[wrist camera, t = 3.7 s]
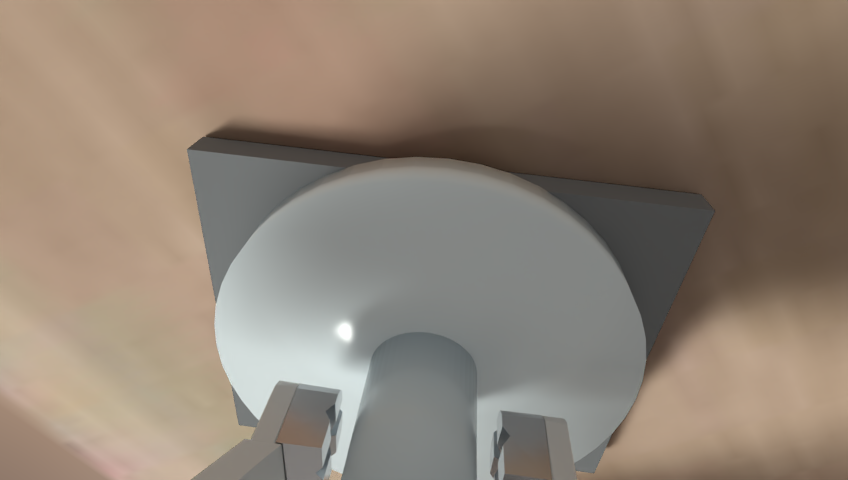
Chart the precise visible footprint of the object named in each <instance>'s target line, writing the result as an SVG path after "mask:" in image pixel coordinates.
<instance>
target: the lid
mask: <svg viewBox="0 0 848 480" xmlns="http://www.w3.org/2000/svg"><path fill="white" fill-rule="evenodd" d="M214 326H215V335H216V344H217V348H218V352H219V355H220V359H221V362H222V365H223V368H224V370H225V372H226V374H227V376H228V379H229V381H230V383H231V385H232V386H233V388H234V389H235V391H236V392H237V394H238V396H239V397H240V399H241V400H242V401H243V403H244V404H245V405H246V406H247V408H248V409H249V410H250V411H251V412H252V414H253V415H254V416H255V417H256V418H257V419H258V420H260V418H261V415H262V413H263V411H264V409H265V406H266V404H267V402H268V400H269V397H270V395H271V393H272V391H273V389H274V386H275V385H276V384H277V383H278V381H279V380H280V381H287V382H294V383H301V384H307V385H314V386H320V387H326V388H332V389H338V390H342V403H341V406H340V410H341V411H342V412H343V416H342V429H341V434H340V440H339V444H338V448H337V451H336V453H335V454H334V455H332V456H331V468H332V470H335V471H337V472H339V473H342V478H341V480H493V477H492V476H491V474H490V450H491V442H492V437H493V433H494V432H495V431H496V430H497V417H498V413H499V412H500V410H502V411H511V412H519V413H527V414H536V415H541V416H548V417H555V418H563V419H565V421H566V422H567V426H568V432H569V437H570V443H571V448H572V454H573V460H574V463H575V462H577V461H579V460H580V459H582V458H583V457H585V456H586V455H587V454H589V453H590V452H592V451H593V450H594V449H596V448H597V447H598V446H599V445H600V444H601V443H603V442H604V441H605V440H606V439H607V438H608V437H609V436H610V435H611V434H612V433H613V432H614V431H615V430H616V428H617V427H618V426H619V425H620V423H621V422H622V421H623V420H624V419H625V417H626V415H627V414H628V412H629V410H630V409H631V407H632V405H633V403H634V402H635V400H636V397H637V395H638V392H639V389H640V387H641V384H642V381H643V376H644V370H645V364H646V337H645V332H644V327H643V323H642V318H641V314H640V312H639V310H638V307H637V305H636V302H635V300H634V298H633V295H632V293H631V290H630V288H629V285H628V283H627V281H626V278H625V276H624V274H623V271H622V269H621V266H620V264H619V262H618V260H617V259H616V257H615V256H614V254H613V253H612V251H611V249H610V248H609V246H608V245H607V243H606V242H605V240H604V239H603V238H602V237H601V236H600V235H599V234H598V233H597V231H596V230H595V229H594V228H593V227H592V226H591V225H590V224H589V222H588V221H587V220H585V219H584V218H583V217H582V216H581V215H579V214H578V213H577V212H576V211H575V210H573V209H572V208H571V207H570V206H569V205H567V204H566V203H565V202H563V201H561V200H560V199H558V198H557V197H555V196H553V195H552V194H550V193H549V192H547V191H546V190H545V189H543V188H541V187H540V186H538V185H535V184H533V183H531V182H529V181H527V180H524V179H522V178H520V177H518V176H515V175H513V174H511V173H508V172H504V171H501V170H498V169H495V168H491V167H488V166H485V165H482V164H477V163H471V162H465V161H460V160H454V159H448V158H429V157H406V158H392V159H382V160H377V161H372V162H367V163H362V164H357V165H353V166H350V167H347V168H346V169H343V170H340V171H337V172H334V173H331V174H328V175H325V176H323V177H321V178H320V179H318V180H316V181H314V182H312V183H310V184H308V185H306V186H304V187H302V188H300V189H299V190H298V191H296V192H295V193H293V194H292V195H290V196H289V197H288V198H286V199H285V200H283V201H282V202H281V203H280V204H279V205H278V206H277V207H276V208H275V209H274V210H272V211H271V212H270V213H269V214H268V215H267V216H266V217H265V218H264V219H263V221H262V222H261V223H260V225H259V226H258V228H257V229H256V230H255V232H254V233H253V234H252V236H251V237H250V238H249V240H248V241H247V243H246V244H245V245H244V247H243V248H242V249H241V251H240V252H239V254H238V255H237V256H236V258H235V259H234V261H233V262H232V263H231V265H230V267H229V269H228V271H227V273H226V275H225V278H224V280H223V282H222V284H221V287H220V291H219V295H218V299H217V303H216V310H215V325H214Z"/></svg>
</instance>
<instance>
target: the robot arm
mask: <svg viewBox="0 0 848 480" xmlns="http://www.w3.org/2000/svg"><path fill="white" fill-rule="evenodd" d="M341 403H342V390H338V389H332V388H326V387H320V386H314V385H307V384H301V383H294V382H287V381H280V380H279V381H278V383H277V384H276V385H275V386H274V389H273V391H272V393H271V395H270V397H269V400H268V402H267V404H266V406H265V409H264V411H263V413H262V415H261V418H260V420H259V422H258V424H257V427H256V429H255V431H254V433H253V435H252V438H251V440H248V439H244V440H242V441H241V442H240V443H239V444H237V445H236V446H235V447H233V448H232V449H231V450H229V451H228V452H227V453H225V454H224V455H223V456H221V457H220V458H219V459H217V460H216V461H215V462H213V463H212V464H211V465H210V466H208V467H207V468H206V469H204V470H203V471H202V472H200V473H199V474H198V475H196V476H195V477H194V478H192V479H191V480H329V477H330V473H331V470H332V468H331V456H332V455H334V454H335V453H336V451H337V448H338V444H339V440H340V434H341V429H342V416H343V412H342V411H341V410H340V406H341ZM490 474H491V476H492V477H493V480H577V476H576V471H575V465H574V460H573V454H572V448H571V443H570V437H569V432H568V426H567V422H566V421H565V419H563V418H555V417H548V416H541V415H536V414H527V413H519V412H511V411H502V410H500V412H499V413H498V417H497V430H496V431H495V432H494V433H493V437H492V442H491V450H490Z"/></svg>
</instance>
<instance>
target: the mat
mask: <svg viewBox="0 0 848 480" xmlns="http://www.w3.org/2000/svg"><path fill="white" fill-rule="evenodd" d="M187 152H188V157H189V163H190V168H191V173H192V178H193V184H194V189H195V194H196V200H197V205H198V210H199V216H200V221H201V226H202V232H203V237H204V242H205V248H206V253H207V258H208V264H209V269H210V274H211V279H212V285H213V290H214V295H215V301H216V303H217V299H218V295H219V291H220V287H221V284H222V282H223V280H224V278H225V275H226V273H227V271H228V269H229V267H230V265H231V263H232V262H233V261H234V259H235V258H236V256H237V255H238V254H239V252H240V251H241V249H242V248H243V247H244V245H245V244H246V243H247V241H248V240H249V238H250V237H251V236H252V234H253V233H254V232H255V230H256V229H257V228H258V226H259V225H260V223H261V222H262V221H263V219H264V218H265V217H266V216H267V215H268V214H269V213H270V212H271V211H272V210H274V209H275V208H276V207H277V206H278V205H279V204H280V203H281V202H282V201H283V200H285V199H286V198H288V197H289V196H290V195H292V194H293V193H295V192H296V191H298V190H299V189H300V188H302V187H304V186H306V185H308V184H310V183H312V182H314V181H316V180H318V179H320V178H321V177H323V176H325V175H328V174H331V173H334V172H337V171H340V170H343V169H346V168H347V167H350V166H353V165H357V164H362V163H367V162H372V161H377V160H382V159H391V158H382V157H374V156H365V155H357V154H348V153H339V152H331V151H322V150H313V149H305V148H296V147H288V146H279V145H270V144H262V143H253V142H244V141H236V140H227V139H219V138H210V137H202V138H201V139H200V140H198V141H197V142H196V143H194V144H193V145H192V146H191V147H189V148H188V149H187ZM508 173H511V174H513V175H515V176H518V177H520V178H522V179H524V180H527V181H529V182H531V183H533V184H535V185H538V186H540V187H541V188H543V189H545V190H546V191H547V192H549V193H550V194H552V195H553V196H555V197H557V198H558V199H560V200H561V201H563V202H565V203H566V204H567V205H569V206H570V207H571V208H572V209H573V210H575V211H576V212H577V213H578V214H579V215H581V216H582V217H583V218H584V219H585V220H587V221H588V222H589V224H590V225H591V226H592V227H593V228H594V229H595V230H596V231H597V233H598V234H599V235H600V236H601V237H602V238H603V239H604V240H605V242H606V243H607V245H608V246H609V248H610V249H611V251H612V253H613V254H614V256H615V257H616V259H617V260H618V262H619V264H620V266H621V269H622V271H623V274H624V276H625V278H626V281H627V283H628V285H629V288H630V290H631V293H632V295H633V298H634V300H635V302H636V305H637V307H638V310H639V312H640V314H641V318H642V323H643V327H644V332H645V337H646V360H647V357H648V355H649V353H650V351H651V349H652V347H653V344H654V342H655V340H656V338H657V336H658V334H659V331H660V329H661V327H662V325H663V323H664V321H665V318H666V316H667V314H668V312H669V310H670V308H671V305H672V303H673V301H674V299H675V297H676V295H677V292H678V290H679V288H680V286H681V284H682V282H683V279H684V277H685V275H686V273H687V271H688V269H689V266H690V264H691V262H692V260H693V258H694V256H695V253H696V251H697V249H698V247H699V245H700V243H701V240H702V238H703V236H704V234H705V232H706V230H707V227H708V225H709V223H710V221H711V219H712V217H713V214H714V212H715V210H714V209H713V208H712V207H711V205H710V204H709V203H708V202H707V201H706V199H705V198H704V197H703V196H702V195H701V194H693V193H684V192H676V191H667V190H658V189H650V188H641V187H632V186H624V185H615V184H607V183H598V182H589V181H581V180H572V179H563V178H555V177H546V176H538V175H529V174H520V173H512V172H508ZM231 386H232V385H231ZM232 391H233V396H234V402H235V407H236V412H237V418H238V423H239V425H243V426H250V427H257V424H258V422H259V420H258V419H257V418H256V417H255V416H254V415H253V414H252V412H251V411H250V410H249V409H248V408H247V406H246V405H245V404H244V403H243V401H242V400H241V399H240V397H239V396H238V394H237V392H236V391H235V389H234V388H233V386H232ZM611 435H612V434H611ZM611 435H610V436H609V437H608V438H607V439H606V440H605V441H604V442H603V443H601V444H600V445H599V446H598V447H597V448H596V449H594V450H593V451H592V452H590V453H589V454H587V455H586V456H585V457H583V458H582V459H580V460H579V461H577V462H575V463H574V465H575V471H581V472H588V473H594V472H595V470H596V468H597V466H598V463H599V461H600V459H601V457H602V455H603V453H604V450H605V448H606V446H607V444H608V442H609V440H610V438H611Z"/></svg>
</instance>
